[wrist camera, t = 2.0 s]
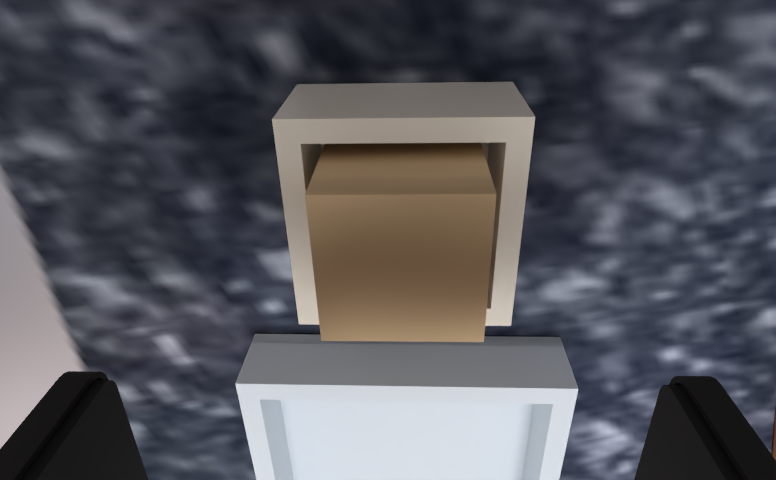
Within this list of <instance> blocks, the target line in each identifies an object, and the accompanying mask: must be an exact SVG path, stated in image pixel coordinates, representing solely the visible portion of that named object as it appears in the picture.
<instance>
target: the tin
mask: <svg viewBox="0 0 776 480" xmlns="http://www.w3.org/2000/svg"><path fill="white" fill-rule="evenodd" d="M772 456H773V457H774V459H775V460H776V412H775V425H774V439H773V454H772Z"/></svg>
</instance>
